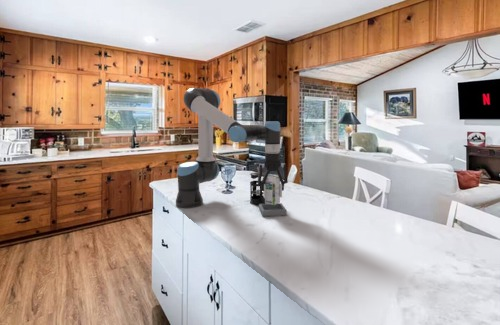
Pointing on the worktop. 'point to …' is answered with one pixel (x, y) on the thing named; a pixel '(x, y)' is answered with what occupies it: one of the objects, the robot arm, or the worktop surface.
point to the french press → (257, 196)
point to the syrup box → (272, 189)
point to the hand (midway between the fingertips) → (272, 196)
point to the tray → (272, 210)
